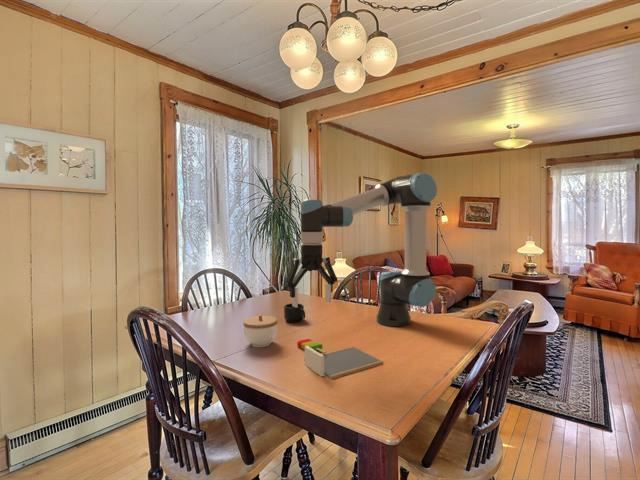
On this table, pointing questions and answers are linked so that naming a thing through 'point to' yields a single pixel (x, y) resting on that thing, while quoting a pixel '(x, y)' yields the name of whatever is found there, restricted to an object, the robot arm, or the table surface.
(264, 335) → the lidded bowl
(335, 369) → the slate board
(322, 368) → the word card
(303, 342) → the popsicle
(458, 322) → the table surface
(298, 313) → the mug
